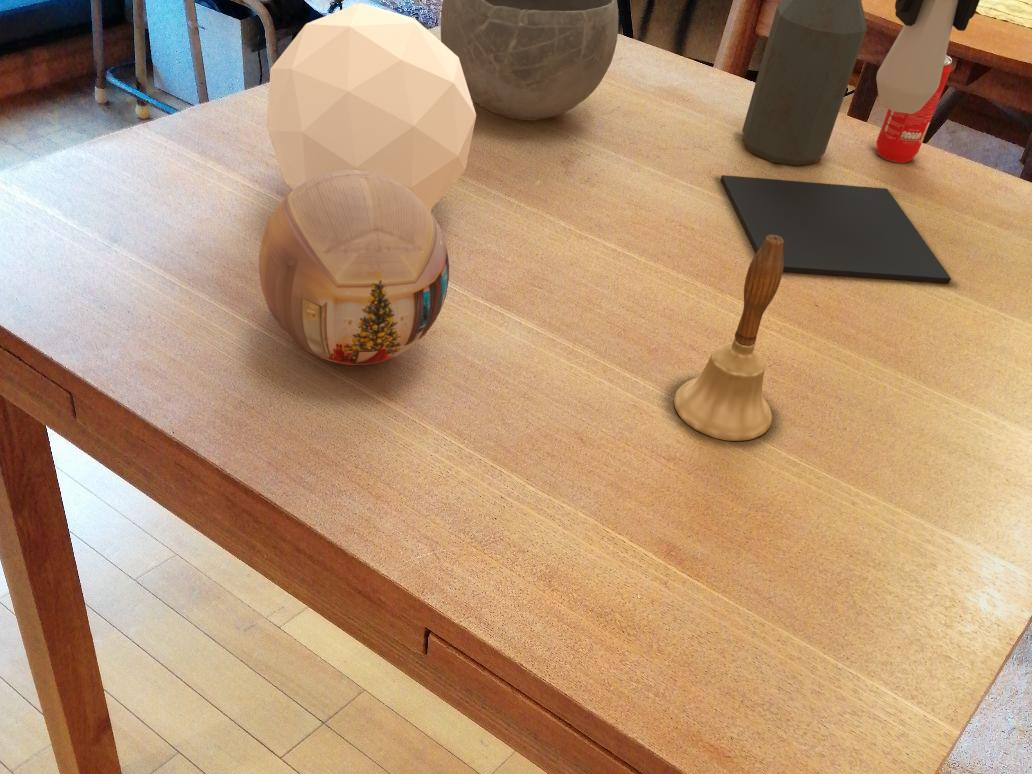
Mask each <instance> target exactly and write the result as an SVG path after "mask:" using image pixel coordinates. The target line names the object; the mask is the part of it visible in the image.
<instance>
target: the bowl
mask: <svg viewBox="0 0 1032 774" xmlns="http://www.w3.org/2000/svg"><path fill="white" fill-rule="evenodd" d="M440 13H441V14H440V41H441V42H442V43H443V44H444V45H445V46H446V47H447V48H449V49H450V50H451V51H452V52H453V53H454V54H455V55H456V56H458V57H459V60H460V64H461V67H462V70H463V74H464V77H465V80H466V83H467V87H468V90H469V93H470V97H471V100H472V102H474V103H476V104H477V105H478V106H479V107H482V108H483V109H485V110H487V111H490V112H492V113H494V114H496V115H500V116H502V117H505V118H508V119H512V120H523V121H524V120H525V121H534V120H535V121H538V120H544V119H549V118H554V117H557V116H560V115H562V114H565V113H566V112H568V111H570V110H573V109H574V108H575V107H577V106H578V105H580V104H581V103H582V102H584V101H585V100H586V99H588V97H589V96H591V95H592V94H593V93H594V91H595V90H596V89H597V88H598V87H599V86H600V84H601V82H602V81H603V80H604V78H605V76H606V74H607V72H608V70H609V68H610V66H611V64H612V61H613V59H614V55H615V51H616V47H617V42H618V34H619V7H618V0H442V4H441V12H440Z"/></svg>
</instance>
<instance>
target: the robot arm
mask: <svg viewBox="0 0 1032 774" xmlns="http://www.w3.org/2000/svg"><path fill="white" fill-rule="evenodd" d="M980 1H981V0H958V4H957V8H956V12H955V17H954V21H953V26H952V27H953V28H955V29H956V30H957V31H958V32H959V31H960V32H961V31H962V32H964V31H966V29H967V27H968V25H969V22H970V20H971V19H972V18H973V17H974V16H975V14H976V11H977V9H978V6H979V3H980ZM922 3H923V0H895V3H894V9H895V17H896V18H897V19H898V20H899V21H900V22H901V23H902V24H903V25H906V26H912V25H914V24H915V22H916V19H917V17H918V14H919V11H920V9H921V6H922Z"/></svg>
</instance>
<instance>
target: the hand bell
mask: <svg viewBox="0 0 1032 774" xmlns="http://www.w3.org/2000/svg"><path fill="white" fill-rule="evenodd" d="M783 274H784V272H783V239H782V237H780V236H777V235H769V236H767V238H766V240H765V241H764V243H763V245H762V246H761V248H760V249H759V250H758V252H757V253H756V252H755V255H754V256H753V258H752V259H751V261H750V263H749V266H748V268H747V272H746V275H745V278H744V279H745V280H744V285H743V309H742V314H741V316H740V318H739V319H740V320H739V323H738V325H737V327H736V331H735V334H734V339H733V342H725V343H722V344H720V345H718V346H716V347H715V348H714V349H713V350H712V352H711V354H710V356H709V358H708V361H707V363H706V364H705V366H704V368H703V369H702V371H701V372H700V374H699V375H698V376H697V377H694V378H692V379H690V380H688V381H686V382H684V383H683V384H682V385H680V386H679V388H678V389H677V390H676V391H675V394H674V397H673V404H674V405H673V406H674V408H675V411H676V412H677V414H678V416H679V417H680V419H681V420H682V421H683V422H684V423H685V424H686V425H687V426H689V427H691V428H692V429H694V430H695V431H697V432H699V433H701V434H703V435H706V436H709V437H711V438H714V439H717V440H721V441H730V442H742V441H750V440H754V439H756V438H759V437H761V436H763V435H764V434H765V433H767V431H768V430H769V429H770V427H771V425H772V420H773V416H772V410H771V408H770V405H769V403H768V401H767V400H766V399H765V397H764V395H763V393H764V392H763V386H764V385H763V383H764V376H765V371H766V367H767V366H766V364H767V363H766V360H765V358H764V356H763V354H761V353H760V352H759V351H758V350H756V349H755V346H756V341H757V338H758V333H759V329H760V325H761V321H762V318H763V315H764V313H765V311H766V310H767V308H768V307H769V305H770V304H771V302H772V301H773V299H774V297H775V296H776V294H777V292H778V289H779V287H780V284H781V280H782V277H783Z"/></svg>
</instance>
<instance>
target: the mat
mask: <svg viewBox="0 0 1032 774" xmlns="http://www.w3.org/2000/svg"><path fill="white" fill-rule="evenodd" d="M720 181H721V184H722V186H723V187H724V190H725V192H726V194H727V196H728V198H729V200H730V202H731V204H732V206H733V208H734V211H735V212H736V215H737V216H738V219H739V220H740V223H741V225H742V227H743V229H744V231H745V233H746V235H747V237H748V239H749V241H750V244H751V245H752V247H753V249H754V250H753V251H754V252H755V254H756V253H757V252H758V250H759V249H760V248H761V246H762V245H763V243H764V241H765V240H766V238H767V236H769V235H777V236H780V237H782V239H783V273H796V274H812V275H825V276H842V277H853V278H854V277H855V278H869V279H881V280H882V279H884V280H896V281H908V282H909V281H910V282H912V281H913V282H924V283H937V284H938V283H940V284H950V282H951V280H952V277H951V276H950V275H949V273H948V272H947V270H946V269H945V268H944V266H943V265H942V263H941V262H940V260H939V259H938V258H937V256H936V255H935V254H934V252H933V250H932V249H931V247H930V246H929V245H928V244H927V242H926V241H925V240H924V238H923V237H922V235H921V234H920V233H919V231H918V230H917V228H916V227H915V225H914V224H913V222H912V221H911V220H910V219H909V217H908V216H907V214H906V213H905V211H904V210H903V209H902V208H901V206H900V204H899V203H898V202H897V200H896V199H895V198H894V196H893V195H892V193H891V192H890V191H889V189H888V188H883V187H874V186H873V187H872V186H860V185H859V186H858V185H848V184H836V183H835V184H834V183H823V182H811V181H798V180H788V179H776V178H775V179H774V178H764V177H763V178H761V177H751V176H737V175H726V174H722V175H721V176H720Z"/></svg>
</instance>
